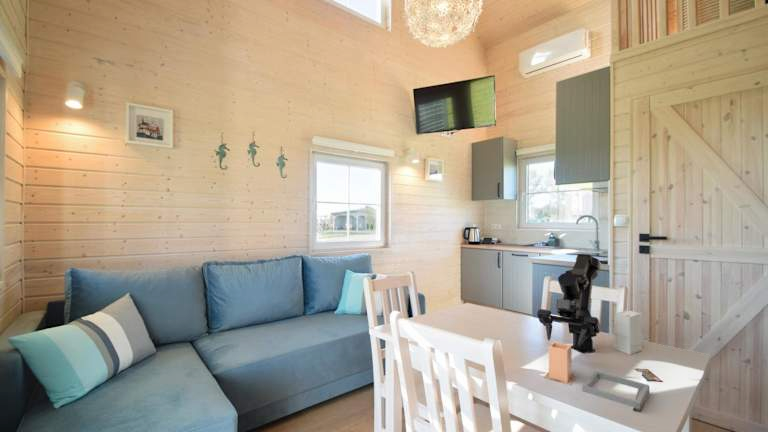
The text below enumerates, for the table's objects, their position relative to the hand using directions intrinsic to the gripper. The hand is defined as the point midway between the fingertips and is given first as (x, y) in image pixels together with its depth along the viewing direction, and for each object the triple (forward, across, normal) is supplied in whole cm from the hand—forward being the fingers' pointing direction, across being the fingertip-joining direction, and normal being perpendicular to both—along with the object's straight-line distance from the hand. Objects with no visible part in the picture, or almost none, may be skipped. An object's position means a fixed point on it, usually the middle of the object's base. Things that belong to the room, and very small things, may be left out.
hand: (563, 342), depth 117 cm
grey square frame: (+10, +15, +5) cm, 19 cm away
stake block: (+10, 0, +5) cm, 12 cm away
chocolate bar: (-4, +21, +21) cm, 30 cm away
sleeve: (+10, 0, +4) cm, 11 cm away
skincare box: (-20, +14, +35) cm, 43 cm away
